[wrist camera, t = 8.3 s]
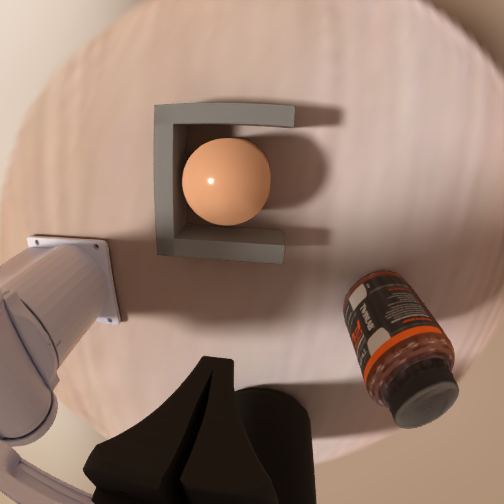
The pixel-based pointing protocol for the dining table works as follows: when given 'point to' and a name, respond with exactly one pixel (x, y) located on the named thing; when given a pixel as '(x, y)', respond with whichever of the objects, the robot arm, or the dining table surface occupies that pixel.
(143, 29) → the dining table surface
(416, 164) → the dining table surface
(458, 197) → the dining table surface
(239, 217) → the tan rounded knob
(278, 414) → the coffee jar
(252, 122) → the dock
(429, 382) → the supplement bottle
